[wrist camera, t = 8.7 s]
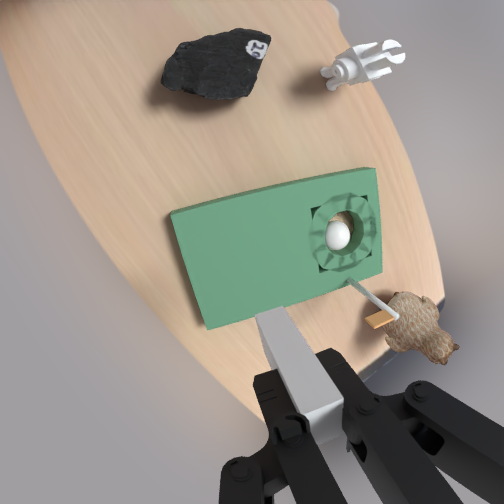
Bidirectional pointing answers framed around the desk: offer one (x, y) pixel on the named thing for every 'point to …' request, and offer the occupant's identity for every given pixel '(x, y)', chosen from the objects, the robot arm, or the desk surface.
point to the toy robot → (362, 64)
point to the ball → (336, 235)
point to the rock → (217, 64)
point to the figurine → (418, 328)
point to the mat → (281, 246)
